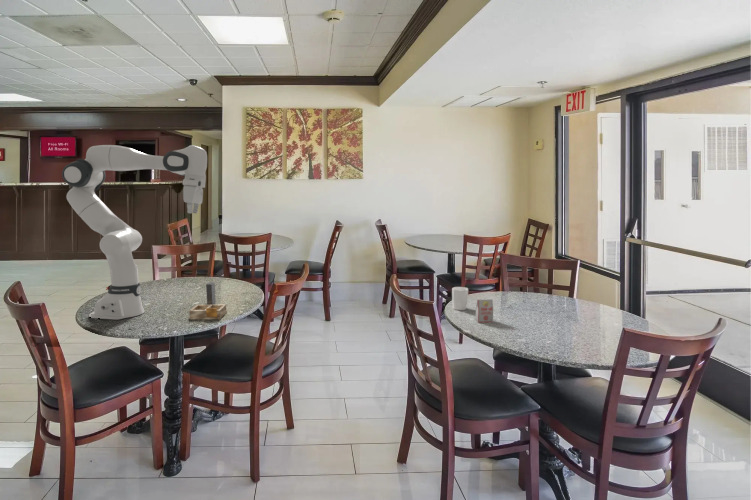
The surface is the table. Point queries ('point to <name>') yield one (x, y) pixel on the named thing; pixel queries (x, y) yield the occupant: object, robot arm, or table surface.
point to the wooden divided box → (208, 312)
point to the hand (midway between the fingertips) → (192, 213)
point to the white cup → (459, 298)
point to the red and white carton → (484, 311)
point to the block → (210, 293)
